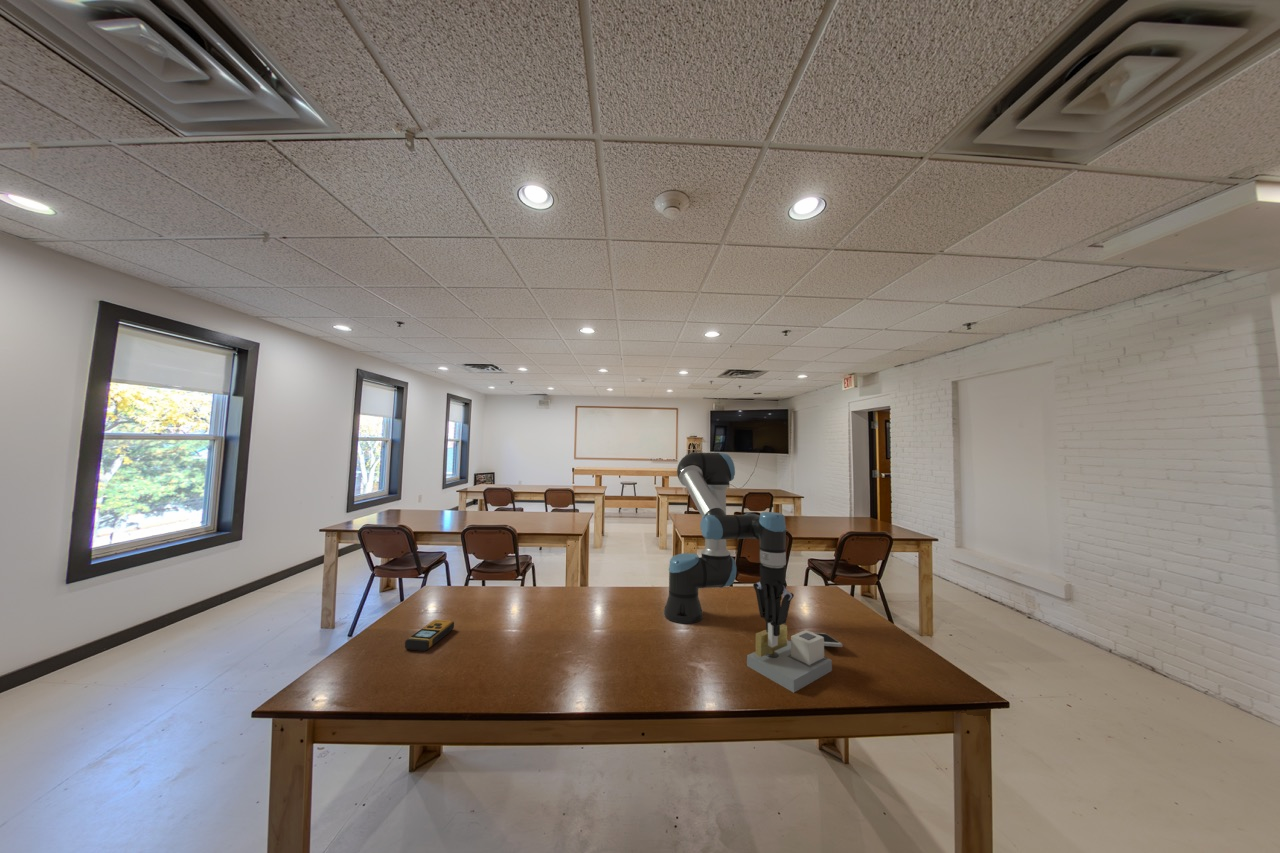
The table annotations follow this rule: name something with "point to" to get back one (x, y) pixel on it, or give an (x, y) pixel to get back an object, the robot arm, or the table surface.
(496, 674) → the table surface
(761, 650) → the yellow rectangular block
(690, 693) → the table surface
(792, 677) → the housing
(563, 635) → the table surface
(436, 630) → the electronic device
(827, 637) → the smartphone
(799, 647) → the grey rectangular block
